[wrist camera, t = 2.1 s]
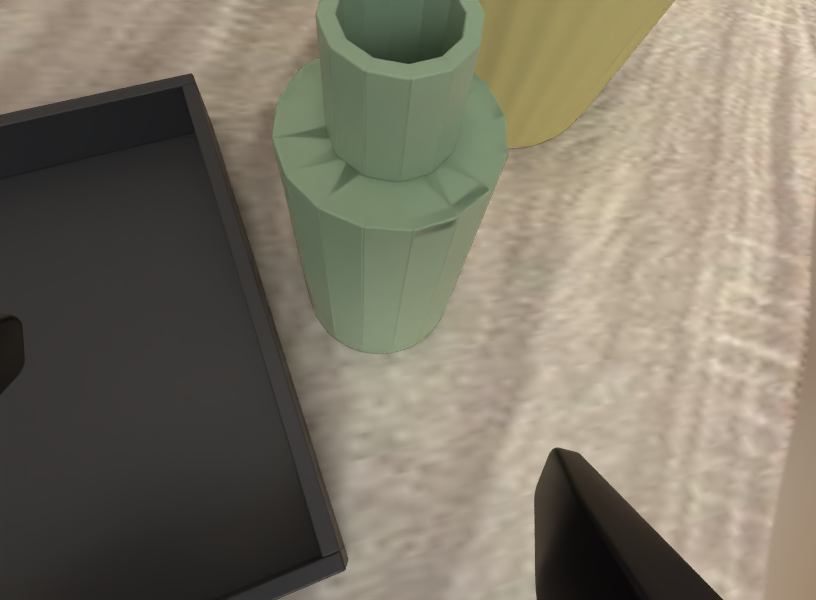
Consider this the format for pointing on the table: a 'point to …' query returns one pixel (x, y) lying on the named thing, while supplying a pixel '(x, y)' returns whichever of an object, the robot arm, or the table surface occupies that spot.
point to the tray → (145, 368)
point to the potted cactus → (556, 57)
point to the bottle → (388, 163)
